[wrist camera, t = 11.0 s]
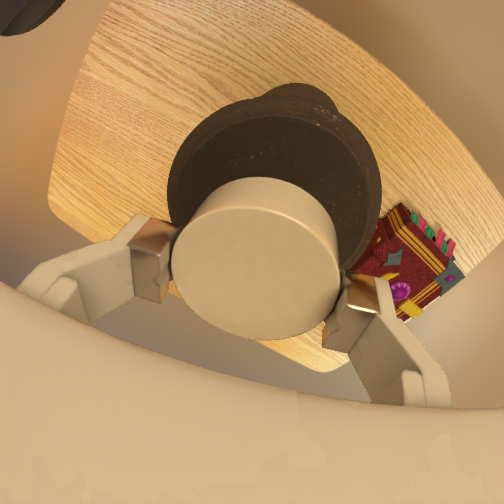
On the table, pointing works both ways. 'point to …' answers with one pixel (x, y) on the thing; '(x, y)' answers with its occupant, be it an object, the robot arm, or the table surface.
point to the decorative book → (410, 261)
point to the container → (284, 160)
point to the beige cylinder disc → (258, 260)
